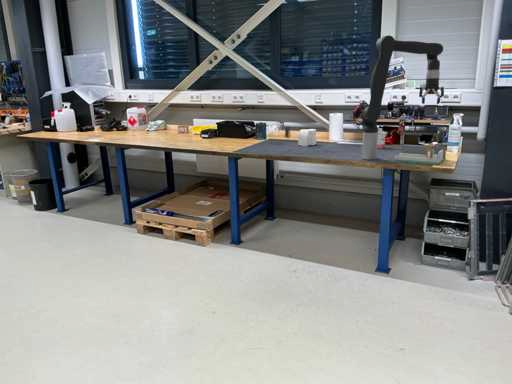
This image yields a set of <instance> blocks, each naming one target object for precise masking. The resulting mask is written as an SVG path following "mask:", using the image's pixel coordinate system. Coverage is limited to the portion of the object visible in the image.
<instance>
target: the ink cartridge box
mask: <svg viewBox="0 0 512 384" xmlns="http://www.w3.org/2000/svg"><path fill="white" fill-rule="evenodd" d="M385 142H386V131H383V128H381V127H378V143H377V149H384V148H385V145H386V143H385Z"/></svg>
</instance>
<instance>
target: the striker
mask: <svg viewBox="0 0 512 384" xmlns="http://www.w3.org/2000/svg"><path fill="white" fill-rule="evenodd" d="M444 135H445V131H444V130H438V131H437V137H436V141H433V142H431V143H429V144H428V145H426V146H427V148H426V156H425V158H428V152H430V158H432V153H433V147H434V146H451V147H454V146H455V143H454V142H444V137H445V136H444Z"/></svg>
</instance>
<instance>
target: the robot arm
mask: <svg viewBox="0 0 512 384" xmlns="http://www.w3.org/2000/svg"><path fill="white" fill-rule="evenodd" d="M375 46H376V49H377V51H379V55H378V60H377V62H376V64H375V67H374V69H373V72H372V73H371V77H370V78H371V79H370V85H369V92H370V99H369V104H368V106H366V107H365V108H364V109H363V110H362V114H361V116H362V117H361V119H362V120H361V122H362V123H361V125H362V126H361V127H362V144H361V151H360V152H361V154H360V160H361V159H363V160H369V161H370V160H378V148H377V143H378V131H379V130H378V128H379V127H378V124H377V121H378V120H379V119H380V118H381V117H380V116H381V111H382V103H383V97H384V92H385V89H386V88H385V87H386V85H387V80H388V79H387V78H388V75H389V69H390V64H391V60H392V55H393V53H394V52H399V53H400V52H401V53H406V54H407V53H408V54H415V55H426V60H427V66H426V68H427V69H426V76H425V77H426V78H425V86H424V87H422V86H421V87H420V88H419V95H418V97H419V98H421V103H422V104H423V105H425V102H426V98H425V97H426V96H427V95H435V96H436V98H437V99H436V105H439V104H440V103H441V98H443V97H445V87H444V86H440V68H441V67H440V66H441V61H440V60H439V59H438V58H439V57H438V56H440V55H441V54H443V51H444V46H443V45H442V44H441V43H439V42H424V41H415V40H414V41H413V40H396V39H395V37H393V36H392V35H390V34H389V35H384V36H382V37H379V38H378V39H377V40H376V43H375ZM439 90H440V92H438V91H439ZM423 91H425V93H424V94H423Z"/></svg>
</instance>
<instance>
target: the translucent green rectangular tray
mask: <svg viewBox="0 0 512 384" xmlns="http://www.w3.org/2000/svg"><path fill="white" fill-rule="evenodd" d="M426 148H427V145H419V144H418V145H416V144H402V145H401V152H399V153H398V155H394V159H393V161H394V162H395V163H404V162H408V163H407V164H416V163H420V164H419V165H428V164H429V166H431V165H432V166H440V165H441V164H442V163H443V162H444V161H445V160H446V154H447V153H446V152H447V146H438V145H436V146H434V147H433V153H432V155H433V154H437V155H438V159H432V158H430V152H428V158H425V156H426Z"/></svg>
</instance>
